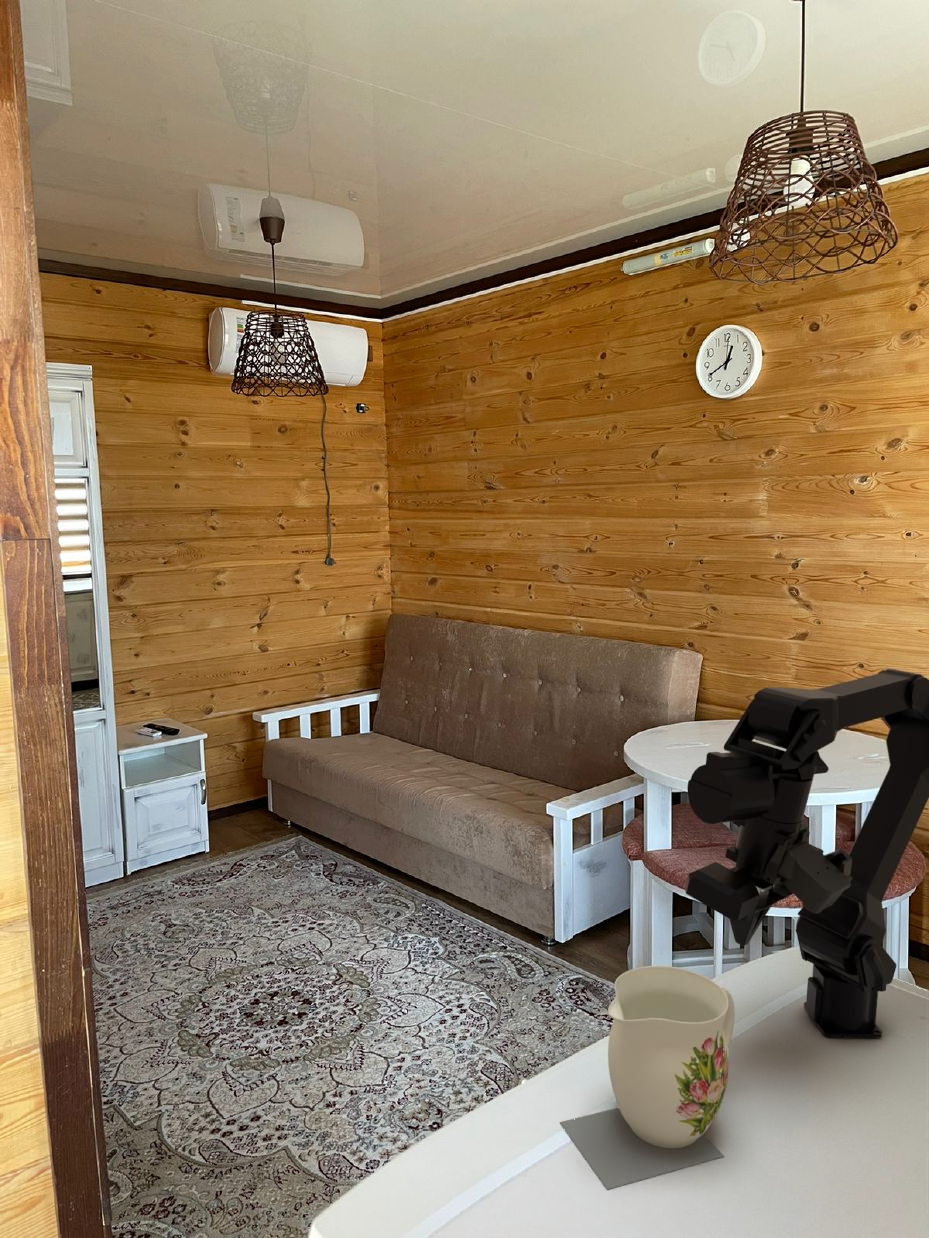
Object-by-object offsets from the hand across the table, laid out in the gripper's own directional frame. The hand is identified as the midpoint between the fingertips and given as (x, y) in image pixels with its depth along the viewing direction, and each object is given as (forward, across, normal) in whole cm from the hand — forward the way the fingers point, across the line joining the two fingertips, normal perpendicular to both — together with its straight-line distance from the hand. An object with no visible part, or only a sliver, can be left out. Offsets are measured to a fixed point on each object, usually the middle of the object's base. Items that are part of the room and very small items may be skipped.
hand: (741, 943), depth 98 cm
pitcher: (+11, -16, -4) cm, 20 cm away
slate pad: (+12, -20, -4) cm, 24 cm away
